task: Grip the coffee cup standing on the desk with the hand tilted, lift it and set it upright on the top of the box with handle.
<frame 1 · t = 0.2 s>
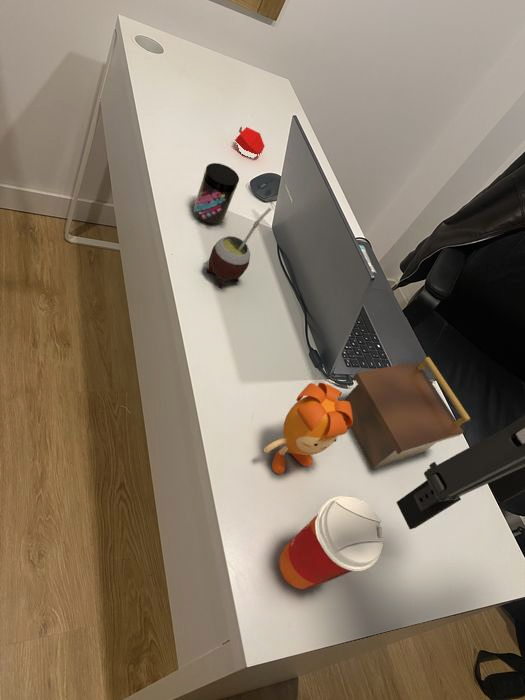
hand: (453, 502, 50), 24 cm above the table, tool pointing down, fingers open, 13 cm apart
supplement container: (207, 216, 103), on the table
box with handle: (380, 429, 85), on the table
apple: (246, 153, 125), on the table
toy figure: (285, 453, 75), on the table
mate gourd: (223, 276, 94), on the table
coffee cup: (298, 565, 65), on the table
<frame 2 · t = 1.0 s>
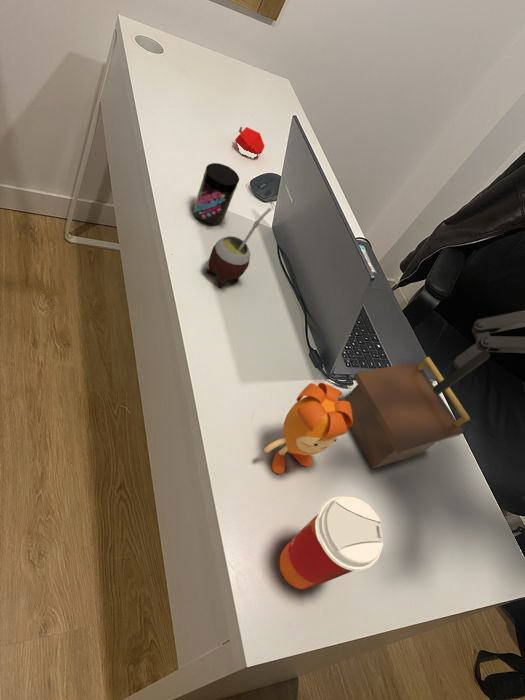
hand: (479, 444, 51), 28 cm above the table, tool tilted 45°, fingers open, 13 cm apart
nothing on the table moved.
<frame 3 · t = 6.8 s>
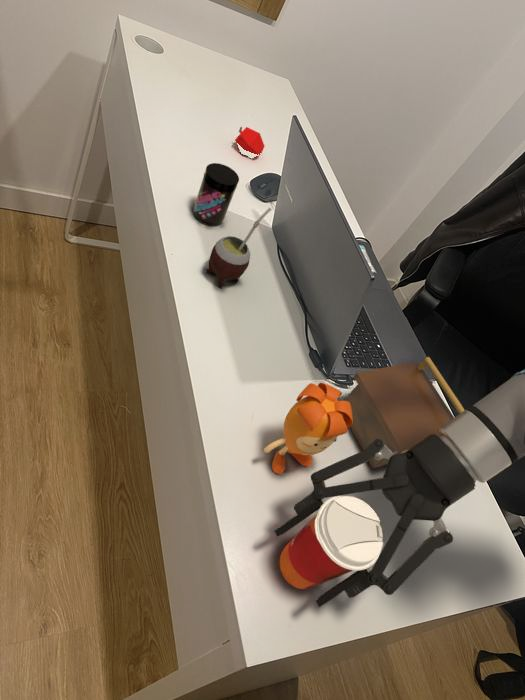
hand: (298, 566, 59), 6 cm above the table, tool tilted 45°, fingers closed on coffee cup, 8 cm apart
coffee cup: (298, 565, 65), on the table, touching gripper
everything else where it was.
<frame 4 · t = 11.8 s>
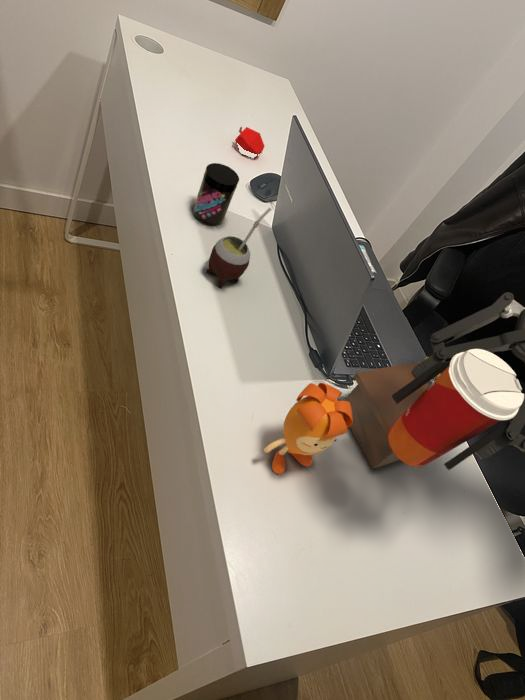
hand: (419, 432, 54), 24 cm above the table, tool tilted 45°, fingers closed on coffee cup, 8 cm apart
coffee cup: (407, 445, 61), point 18 cm above the table, touching gripper
everything else where it was.
when the fingers open (15 cm above the table, at t = 16.9 s): coffee cup stays where it is, resting on box with handle.
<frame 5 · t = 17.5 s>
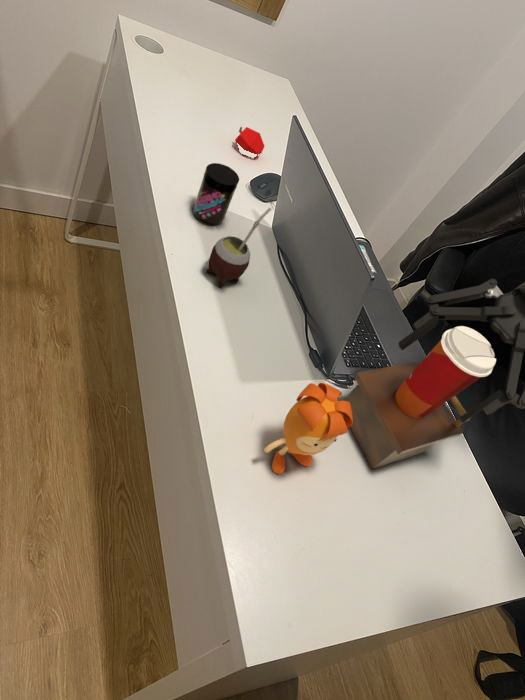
hand: (429, 382, 72), 16 cm above the table, tool tilted 45°, fingers open, 13 cm apart
coffee cup: (410, 402, 79), point 9 cm above the table, touching box with handle
everything else where it was.
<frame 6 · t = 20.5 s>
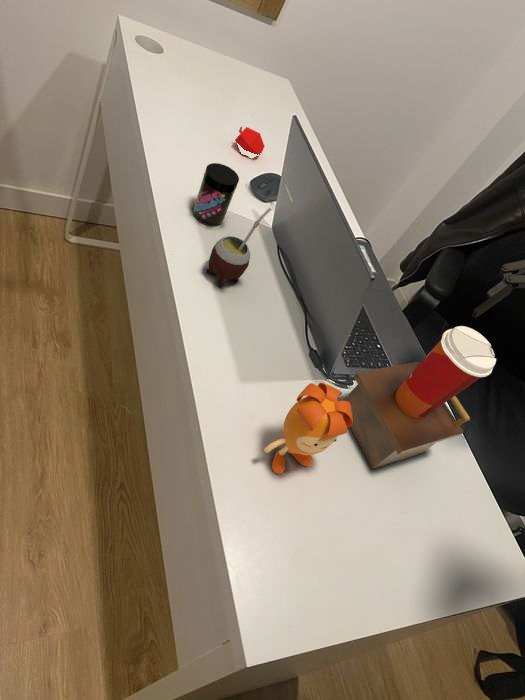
hand: (505, 348, 74), 22 cm above the table, tool tilted 45°, fingers open, 13 cm apart
nothing on the table moved.
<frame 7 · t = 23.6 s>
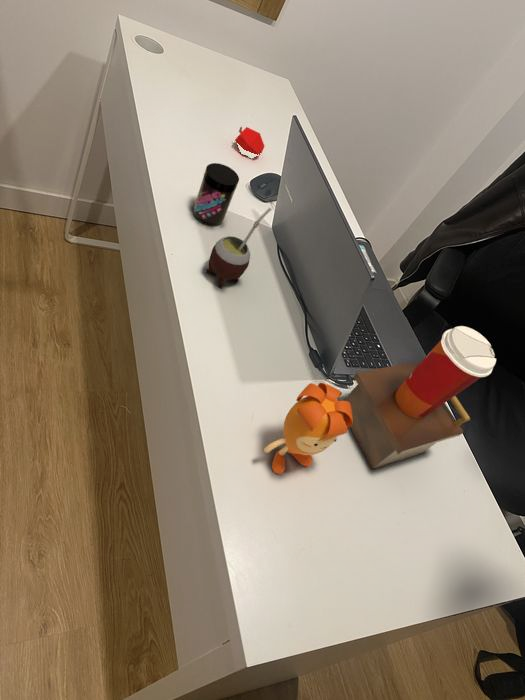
nothing on the table moved.
at the end: coffee cup 0.1 cm off-centre on the box with handle, point 8.8 cm above the box with handle's base; coffee cup tilted 0°; the gripper is holding nothing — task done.
